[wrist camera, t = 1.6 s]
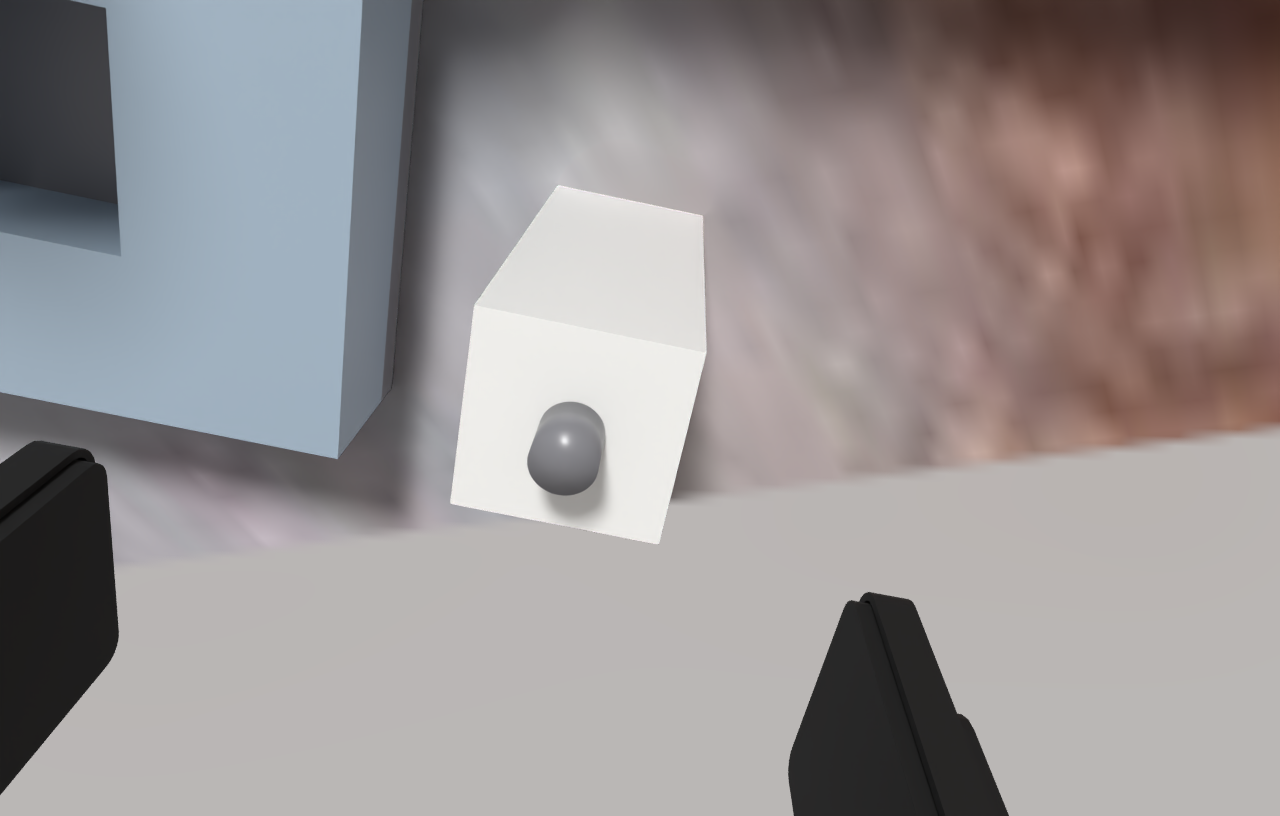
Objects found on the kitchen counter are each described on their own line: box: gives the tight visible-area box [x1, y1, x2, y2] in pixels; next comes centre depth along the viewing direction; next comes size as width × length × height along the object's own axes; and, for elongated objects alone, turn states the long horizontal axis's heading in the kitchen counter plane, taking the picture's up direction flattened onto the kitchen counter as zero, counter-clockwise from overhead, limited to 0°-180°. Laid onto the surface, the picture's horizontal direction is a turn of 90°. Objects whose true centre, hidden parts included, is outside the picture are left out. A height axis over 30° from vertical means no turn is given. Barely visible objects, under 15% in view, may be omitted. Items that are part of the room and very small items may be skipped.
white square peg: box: [450, 185, 707, 545], centre depth 20 cm, size 4×4×11 cm
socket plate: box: [0, 0, 423, 459], centre depth 22 cm, size 16×14×4 cm
